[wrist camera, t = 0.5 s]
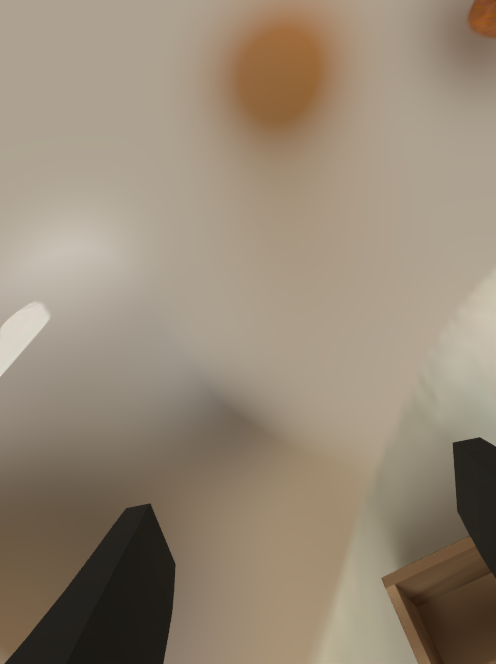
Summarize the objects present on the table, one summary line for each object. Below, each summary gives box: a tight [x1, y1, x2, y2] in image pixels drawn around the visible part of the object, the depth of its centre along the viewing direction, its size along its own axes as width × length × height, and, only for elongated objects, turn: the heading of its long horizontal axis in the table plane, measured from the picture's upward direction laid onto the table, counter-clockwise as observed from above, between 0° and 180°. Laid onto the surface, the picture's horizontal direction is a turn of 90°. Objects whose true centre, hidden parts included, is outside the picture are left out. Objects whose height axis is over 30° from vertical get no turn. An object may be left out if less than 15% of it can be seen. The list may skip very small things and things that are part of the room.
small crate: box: [381, 536, 496, 664], centre depth 20 cm, size 5×8×4 cm, turn 105°
